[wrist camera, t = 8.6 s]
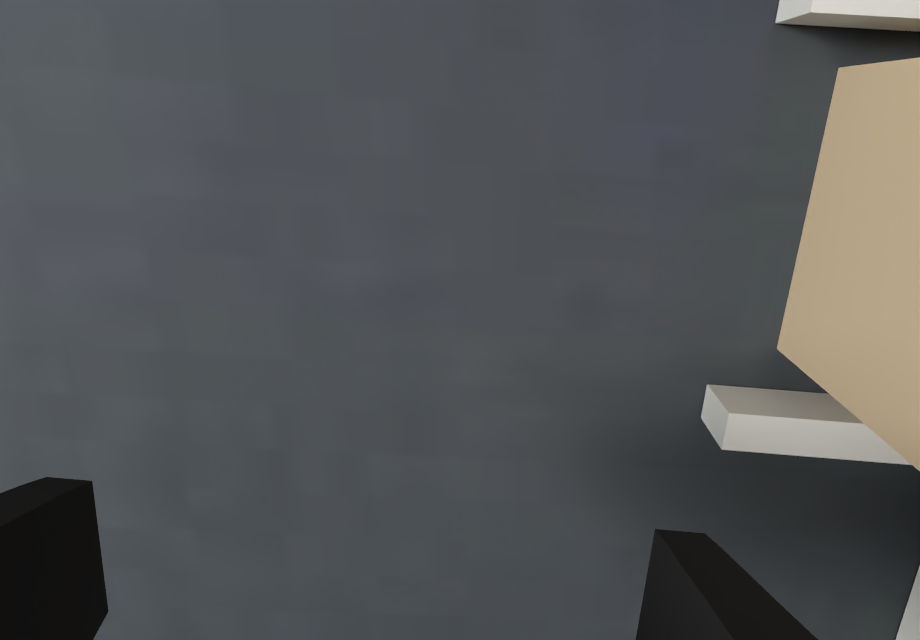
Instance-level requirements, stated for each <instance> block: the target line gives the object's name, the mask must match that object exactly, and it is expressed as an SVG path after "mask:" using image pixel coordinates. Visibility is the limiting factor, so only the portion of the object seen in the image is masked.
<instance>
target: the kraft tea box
mask: <svg viewBox="0 0 920 640" xmlns="http://www.w3.org/2000/svg"><path fill="white" fill-rule="evenodd" d="M777 349H778V350H779V351H780V352H781V353H782V354H783V355H785V356H786V357H787V358H788V359H789V360H790V361H792V362H793V363H794V364H795V365H796V366H797V367H799V368H800V369H801V370H802V371H803V372H804V373H806V374H807V375H808V376H809V377H810V378H811V379H813V380H814V381H815V382H816V383H817V384H818V385H820V386H821V387H822V388H823V389H824V390H825V391H827V392H828V393H829V394H830V395H831V396H832V397H834V398H835V399H836V400H837V401H838V402H839V403H841V404H842V405H843V406H844V407H845V408H846V409H848V410H849V411H850V412H851V413H852V414H853V415H855V416H856V417H857V418H858V419H859V420H860V421H862V422H863V423H864V424H865V425H866V426H867V427H869V428H870V429H871V430H872V431H873V432H874V433H876V434H877V435H878V436H879V437H880V438H881V439H883V440H884V441H885V442H886V443H887V444H888V445H890V446H891V447H892V448H893V449H894V450H895V451H897V452H898V453H899V454H900V455H901V456H902V457H904V458H905V459H906V460H907V461H908V462H909V463H911V464H912V465H913V466H914V467H915V468H916V469H918V470H919V471H920V58H912V59H904V60H896V61H888V62H880V63H872V64H865V65H857V66H849V67H841V68H839V69H838V73H837V78H836V82H835V87H834V91H833V96H832V101H831V105H830V110H829V114H828V119H827V123H826V128H825V132H824V137H823V141H822V146H821V151H820V155H819V160H818V164H817V169H816V173H815V178H814V182H813V187H812V191H811V196H810V200H809V205H808V210H807V214H806V219H805V223H804V228H803V232H802V237H801V241H800V246H799V250H798V255H797V260H796V264H795V269H794V273H793V278H792V282H791V287H790V291H789V296H788V300H787V305H786V310H785V314H784V319H783V323H782V328H781V332H780V337H779V341H778V346H777Z"/></svg>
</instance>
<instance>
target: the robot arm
mask: <svg viewBox="0 0 920 640" xmlns="http://www.w3.org/2000/svg"><path fill="white" fill-rule="evenodd" d="M107 613H108V605H107V597H106V589H105V581H104V573H103V565H102V557H101V549H100V541H99V533H98V525H97V517H96V509H95V501H94V493H93V484H92V481H86V480H74V479H63V478H51V477H45V478H42V479H39V480H36V481H33V482H30V483H27V484H24V485H21V486H18V487H16V488H13V489H10V490H8V491H5V492H3V493H0V640H93V638H94V637H95V635H96V633H97V631H98V629H99V627H100V626H101V624H102V622H103V620H104V618H105V617H106V615H107ZM636 640H818V639H817V638H816V637H815V636H813V635H812V634H811V633H810V632H809V631H808V630H807V629H806V628H805V627H804V626H803V625H802V624H801V623H799V622H798V621H797V620H796V619H795V618H794V617H793V616H792V615H791V614H790V613H789V612H788V611H787V610H786V609H785V608H784V607H783V606H781V605H780V604H779V603H778V602H777V601H776V600H775V599H774V598H773V597H772V596H771V595H770V594H769V593H768V592H767V591H766V590H765V589H764V588H763V587H762V586H761V585H759V584H758V583H757V582H756V581H755V580H754V579H753V578H752V577H751V576H750V575H749V574H748V573H747V572H746V571H745V570H744V569H743V568H742V567H741V566H740V565H739V564H738V563H736V562H735V561H734V560H733V559H732V558H731V557H730V556H729V555H728V554H727V553H726V552H725V551H724V550H723V549H722V548H721V547H719V546H718V545H717V544H716V543H715V542H714V541H713V540H712V539H710V538H709V537H708V536H707V535H706V534H705V533H693V532H681V531H670V530H658V529H655V533H654V539H653V545H652V550H651V556H650V562H649V567H648V573H647V579H646V584H645V590H644V596H643V602H642V607H641V613H640V619H639V624H638V630H637V636H636Z"/></svg>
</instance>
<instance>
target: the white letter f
mask: <svg viewBox="0 0 920 640" xmlns="http://www.w3.org/2000/svg"><path fill="white" fill-rule="evenodd" d="M775 23H779V24H796V25H813V26H831V27H848V28H865V29H883V30H900V31H917V32H920V0H780V1H779V7H778V12H777V17H776V22H775ZM701 419H702V420H703V422H704V423H705V425H706V426H707V428H708V429H709V431H710V433H711V434H712V436H713V437H714V439H715V440H716V442H717V443H718V445H719V446H720V448H721V449H722V450H733V451H746V452H758V453H770V454H783V455H795V456H807V457H820V458H832V459H844V460H857V461H869V462H881V463H894V464H906V465H912V464H911V463H909V462H908V461H907V460H906V459H905V458H904V457H902V456H901V455H900V454H899V453H898V452H897V451H895V450H894V449H893V448H892V447H891V446H890V445H888V444H887V443H886V442H885V441H884V440H883V439H881V438H880V437H879V436H878V435H877V434H876V433H874V432H873V431H872V430H871V429H870V428H869V427H867V426H866V425H865V424H864V423H863V422H862V421H860V420H859V419H858V418H857V417H856V416H855V415H853V414H852V413H851V412H850V411H849V410H848V409H846V408H845V407H844V406H843V405H842V404H841V403H839V402H838V401H837V400H836V399H835V398H834V397H832V396H831V395H830V394H826V393H813V392H800V391H787V390H774V389H761V388H748V387H735V386H723V385H710V384H707V388H706V393H705V398H704V403H703V409H702V414H701ZM896 640H920V566H919V569H918V572H917V575H916V578H915V581H914V584H913V587H912V591H911V594H910V597H909V600H908V603H907V606H906V609H905V612H904V615H903V618H902V621H901V624H900V628H899V631H898V634H897V637H896Z"/></svg>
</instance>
